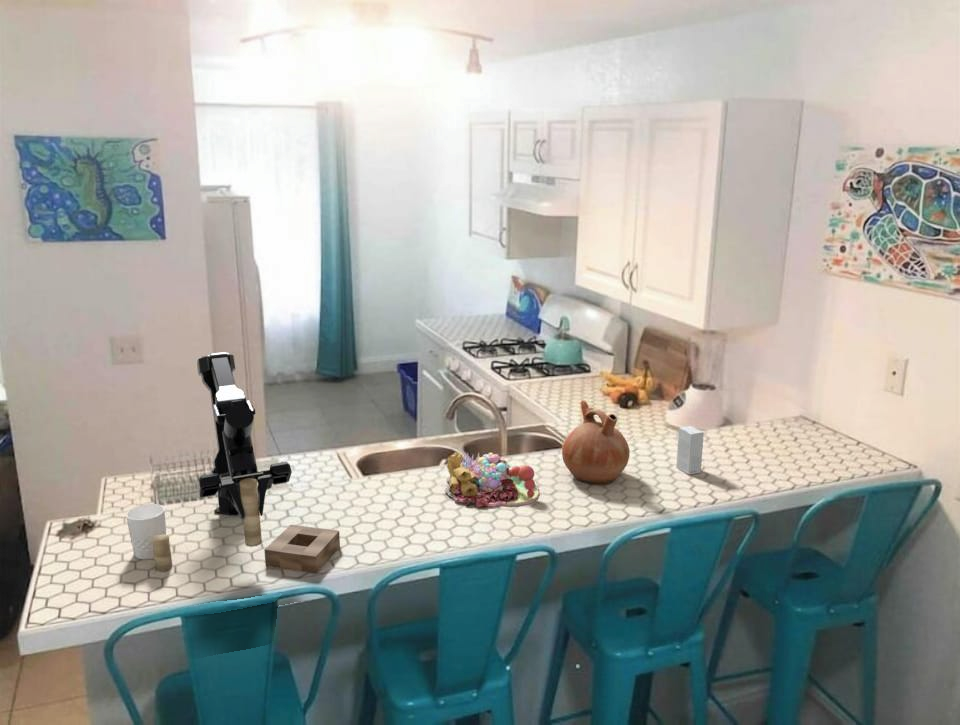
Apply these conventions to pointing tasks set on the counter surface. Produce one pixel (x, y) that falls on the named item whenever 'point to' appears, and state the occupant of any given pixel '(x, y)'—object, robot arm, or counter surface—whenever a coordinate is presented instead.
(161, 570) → the short oak dowel
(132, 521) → the white cup
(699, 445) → the skincare box
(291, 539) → the walnut socket block
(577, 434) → the jug
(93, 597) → the counter surface
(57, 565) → the counter surface
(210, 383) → the robot arm
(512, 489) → the candy landscape model
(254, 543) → the tall oak dowel
